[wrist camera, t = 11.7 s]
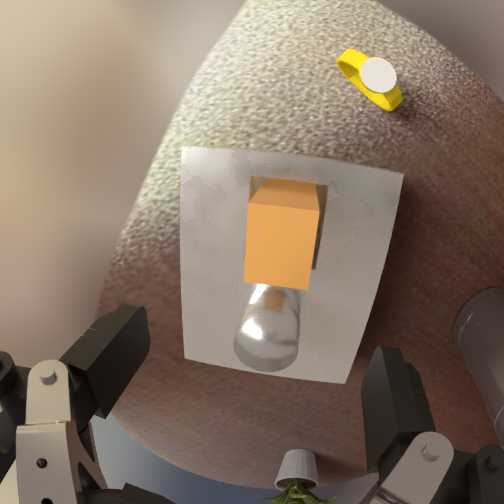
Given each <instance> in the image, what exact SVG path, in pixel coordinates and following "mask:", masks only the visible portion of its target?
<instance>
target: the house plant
mask: <svg viewBox="0 0 504 504" xmlns="http://www.w3.org/2000/svg"><path fill="white" fill-rule="evenodd" d="M275 486H276V487H277V488H278V489H280V490H282V491H283V492H282V493H281V494H280V495H278V496H276V497H273V498H275V499H273V500H271V501H270V503H274V504H305V503H304V501H305V502H306V503H308V504H325V503H330V502H332V501H333V499H335V498H336V497H337V496H335V497H332V498H328V499H319V498H317V497H316V496H315V495H313V494H312V493H311V492H310V491H313V490H315V489H316V488H317V487H318V486H319V483H318V475H317V468H316V461H315V455H314V453H313V452H311V451H309V450H305V449H293V450H290V451H288V452H287V453H286V454H285V456H284V459H283V462H282V465H281V468H280V470H279V473H278V476H277V478H276V481H275ZM310 494H311V495H310ZM258 498H260V499H269V498H262V497H259V496H258ZM270 499H272V498H270ZM303 500H304V501H303Z"/></svg>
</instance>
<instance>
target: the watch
mask: <svg viewBox="0 0 504 504" xmlns="http://www.w3.org/2000/svg"><path fill="white" fill-rule="evenodd" d="M336 63H337V65H338V67H339V69H340V70H341V72H342V73H343V74H344V75H345V77H346V78H347V79H348V80H350V81H351V82H352V83H353V84H354V85H355V86H356V87H357V88H358V89H359V90H360V91H361V92H363V93H364V94H365V95H366V96H367V97H368V98H369V100H371V101H372V102H373V103H375V104H376V105H378V106H379V107H381V108H382V109H384V110H387V111H392V110H394V109H395V108H396V107H397V106H398V105H399V104H400V103H401V102H402V101H403V97H402V93H401V91H400V89H399V87H398V86H397V84H396V80H397V77H396V72H395V69H394V67H393V66H392V65H391V64H390V63H389V62H388V61H387V60H385V59H383V58H380V57H371V58H370V57H368V56H366V55H365V54H363V53H362V52H359V51H357V50H353V49H347V50H346V51H345V52H344V53H343V54H342V55H341V56H340V57H339V58H338V59H337V60H336Z"/></svg>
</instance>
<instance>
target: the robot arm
mask: <svg viewBox="0 0 504 504" xmlns="http://www.w3.org/2000/svg"><path fill="white" fill-rule="evenodd" d="M453 337H454V340H455V343H456V344H457V346H458V348H459V350H460V352H461V354H462V356H463V358H464V360H465V362H466V364H467V366H468V368H469V370H470V373H471V375H472V377H473V379H474V381H475V383H476V385H477V387H478V390H479V392H480V394H481V396H482V399H483V401H484V403H485V405H486V408H487V410H488V413H489V415H490V417H491V420H492V422H493V425H494V427H495V430H496V432H497V435H498V438H499V440H500V443H501V446H502V448H501V447H499V446H497V445H493V444H489V445H486V446H484V447H482V448H481V449H480V450H479V451H478V452H477V453H476V454H473V453H468V452H462V451H458V450H454V449H453V447H452V445H451V443H450V441H449V440H448V439H447V438H446V437H445V436H443V435H441V434H439V433H437V432H436V428H435V425H434V421H433V417H432V414H431V410H430V407H429V403H428V400H427V397H426V393H425V390H424V388H423V383H422V380H421V377H420V374H419V373H418V371H417V370H416V369H415V368H414V366H413V365H412V364H411V363H404V359H403V356H402V353H401V350H400V348H399V347H388V346H377V347H376V349H375V351H374V354H373V356H372V359H371V361H370V364H369V366H368V369H367V371H366V373H365V376H364V378H363V382H362V387H361V399H362V408H363V419H364V431H365V444H366V459H367V473H376V472H379V481H378V482H377V483H376V484H375V485H374V486H373V488H372V489H371V490H370V492H369V493H368V494H367V495H366V496H365V497H364V498H363V500H362V501H361V502H360V503H359V504H504V290H503V289H501V288H496V287H495V288H489V289H486V290H483V291H481V292H480V293H478V294H476V295H475V296H474V297H472V298H471V299H470V300H469V301H468V302H467V303H466V304H465V305H464V307H463V308H462V310H461V311H460V313H459V315H458V316H457V318H456V321H455V324H454V329H453ZM149 348H150V336H149V329H148V321H147V313H146V309H145V308H144V307H142V306H138V305H134V304H130V303H126V302H125V303H123V304H122V305H121V306H120V307H119V308H118V309H117V310H116V311H115V312H114V313H108V314H106V315H104V316H102V317H100V318H99V319H97V320H96V321H95V322H94V323H93V324H92V325H91V327H90V329H88V330H87V331H86V332H85V333H84V334H83V336H81V337H80V338H79V339H78V340H77V341H76V342H75V343H74V344H73V345H72V346H71V347H70V348H69V350H68V351H67V352H66V353H65V354H64V355H63V356H62V357H61V358H60V359H59V360H58V361H57V360H45V361H42V362H40V363H38V364H36V365H35V366H34V367H33V368H26V367H20V366H15V364H14V362H13V359H12V357H11V356H10V355H9V354H8V353H6V352H2V351H1V352H0V406H1V407H2V409H3V410H2V412H1V413H0V484H1V482H2V480H3V479H4V477H5V475H6V474H7V472H8V470H9V468H10V467H11V465H12V464H13V462H14V461H15V459H16V467H17V482H18V494H19V504H175V503H174V502H172V501H170V500H168V499H166V498H165V497H163V496H161V495H158V494H155V493H152V492H149V491H147V490H144V489H141V488H139V487H136V486H133V485H131V484H128V483H125V485H124V488H123V489H122V490H120V489H108V486H107V484H106V481H105V479H104V477H103V474H102V472H101V469H100V466H99V462H98V457H97V452H96V447H95V442H94V438H93V431H92V425H91V422H90V419H91V418H92V416H93V415H96V416H99V417H101V418H103V419H106V417H107V416H108V414H109V413H110V411H111V410H112V408H113V406H114V405H115V403H116V402H117V400H118V399H119V397H120V396H121V394H122V393H123V391H124V390H125V388H126V387H127V385H128V384H129V382H130V381H131V379H132V378H133V376H134V375H135V373H136V372H137V370H138V369H139V367H140V366H141V364H142V363H143V361H144V360H145V358H146V356H147V355H148V352H149Z"/></svg>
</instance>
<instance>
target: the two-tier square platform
mask: <svg viewBox="0 0 504 504" xmlns="http://www.w3.org/2000/svg"><path fill="white" fill-rule="evenodd" d="M403 175H404V174H403V173H401V172H399V171H395V170H390V169H385V168H380V167H375V166H370V165H364V164H359V163H353V162H347V161H341V160H335V159H328V158H321V157H314V156H307V155H299V154H291V153H283V152H274V151H264V150H254V149H242V148H230V147H215V146H197V145H187V146H182V154H181V187H180V265H181V298H182V320H183V338H184V353H185V358H186V359H190V360H194V361H199V362H204V363H208V364H213V365H218V366H223V367H228V368H233V369H239V370H244V371H250V372H256V373H262V374H268V375H275V376H282V377H289V378H297V379H305V380H313V381H322V382H332V383H343V384H345V382H346V379H347V377H348V374H349V372H350V369H351V366H352V364H353V361H354V358H355V356H356V353H357V350H358V347H359V345H360V342H361V339H362V336H363V333H364V330H365V327H366V324H367V321H368V318H369V315H370V312H371V309H372V305H373V302H374V299H375V295H376V292H377V289H378V285H379V282H380V278H381V274H382V271H383V267H384V263H385V259H386V256H387V252H388V248H389V243H390V239H391V235H392V231H393V226H394V222H395V217H396V212H397V207H398V202H399V197H400V192H401V187H402V181H403ZM267 178H277V179H285V180H293V181H300V182H308V183H315V186H316V192H317V198H318V204H319V219H318V226H317V233H316V240H315V247H314V254H313V260H312V266H311V273H310V279H309V285H308V290H304V289H296V288H288V287H280V286H273V285H265V284H258V283H250V282H243V281H244V264H245V247H246V230H247V214H248V203H249V201H250V200H251V199H252V197H253V196H254V195H255V193H256V192H257V191H258V189H259V188H260V187H261V185H262V184H263V183H264V182H265V180H266V179H267Z"/></svg>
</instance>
